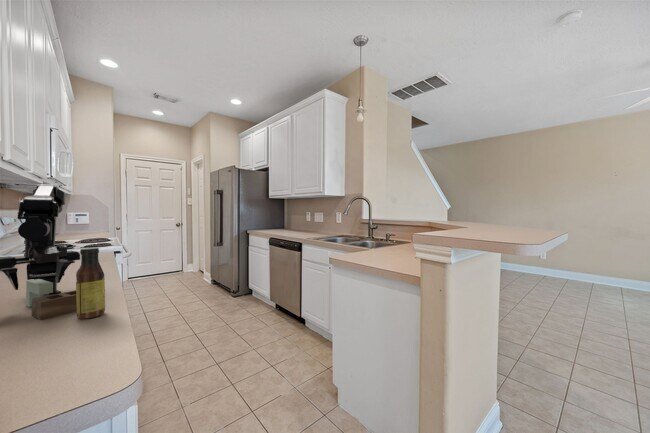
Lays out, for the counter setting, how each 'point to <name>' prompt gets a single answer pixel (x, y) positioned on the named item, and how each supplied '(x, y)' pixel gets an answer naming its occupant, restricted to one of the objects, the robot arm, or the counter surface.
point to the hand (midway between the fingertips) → (38, 286)
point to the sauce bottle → (90, 285)
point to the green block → (37, 290)
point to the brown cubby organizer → (54, 305)
